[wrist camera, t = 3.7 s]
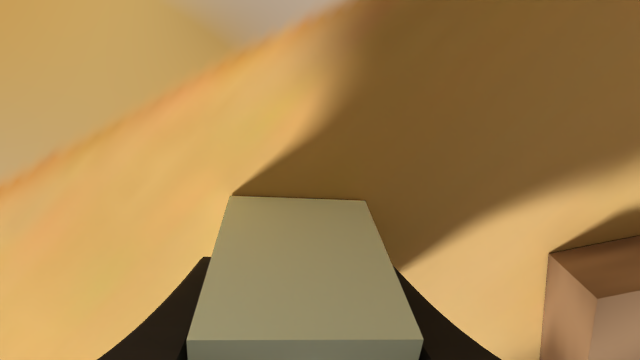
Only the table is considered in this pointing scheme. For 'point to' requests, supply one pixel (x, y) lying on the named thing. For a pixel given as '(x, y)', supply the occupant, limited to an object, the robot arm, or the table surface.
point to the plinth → (593, 303)
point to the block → (301, 286)
